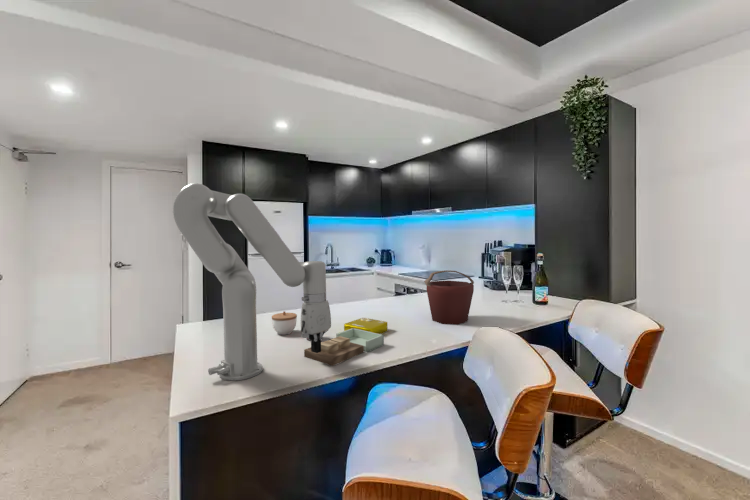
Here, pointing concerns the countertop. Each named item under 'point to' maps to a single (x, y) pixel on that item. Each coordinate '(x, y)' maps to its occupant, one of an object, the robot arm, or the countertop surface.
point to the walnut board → (335, 354)
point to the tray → (363, 338)
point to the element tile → (367, 325)
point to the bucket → (449, 299)
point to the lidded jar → (284, 322)
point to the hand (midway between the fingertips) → (316, 351)
